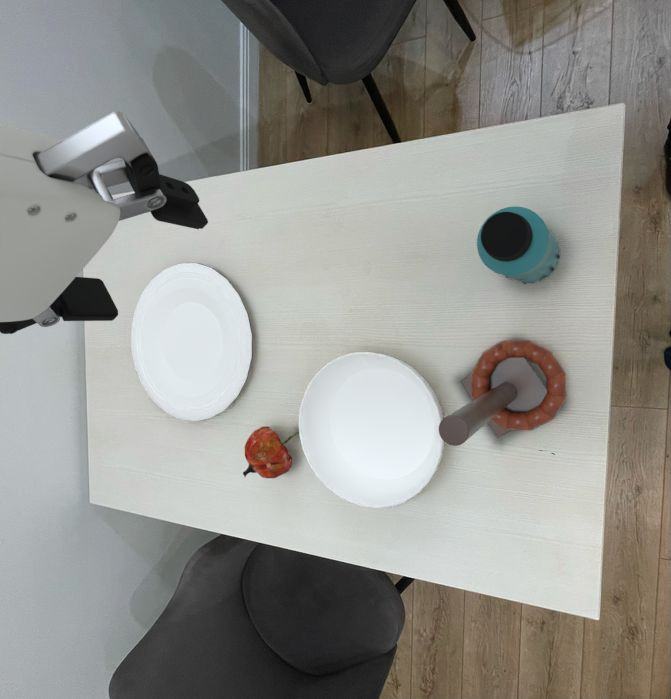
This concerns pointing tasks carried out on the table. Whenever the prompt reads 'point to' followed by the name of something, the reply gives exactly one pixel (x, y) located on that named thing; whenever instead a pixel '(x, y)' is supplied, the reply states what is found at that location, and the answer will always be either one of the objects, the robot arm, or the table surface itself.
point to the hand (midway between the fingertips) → (149, 255)
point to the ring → (548, 367)
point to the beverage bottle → (518, 245)
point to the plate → (191, 341)
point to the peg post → (495, 400)
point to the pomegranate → (267, 454)
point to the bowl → (371, 429)
